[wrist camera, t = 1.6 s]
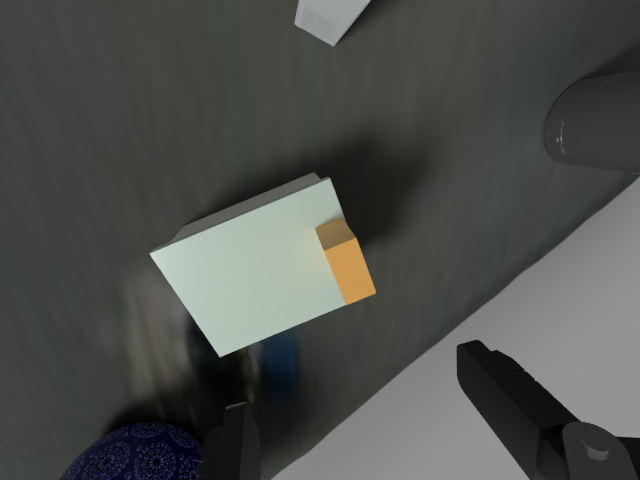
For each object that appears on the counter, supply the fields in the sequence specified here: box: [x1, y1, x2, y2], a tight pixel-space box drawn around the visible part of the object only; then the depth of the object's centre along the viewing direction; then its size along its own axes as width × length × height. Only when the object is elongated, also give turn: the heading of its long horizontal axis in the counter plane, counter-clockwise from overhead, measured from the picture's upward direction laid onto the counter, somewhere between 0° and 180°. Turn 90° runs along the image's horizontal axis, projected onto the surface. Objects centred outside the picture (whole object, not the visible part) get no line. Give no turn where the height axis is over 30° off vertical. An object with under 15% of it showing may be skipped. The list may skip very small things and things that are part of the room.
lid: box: [150, 177, 376, 357], centre depth 26 cm, size 16×12×7 cm
